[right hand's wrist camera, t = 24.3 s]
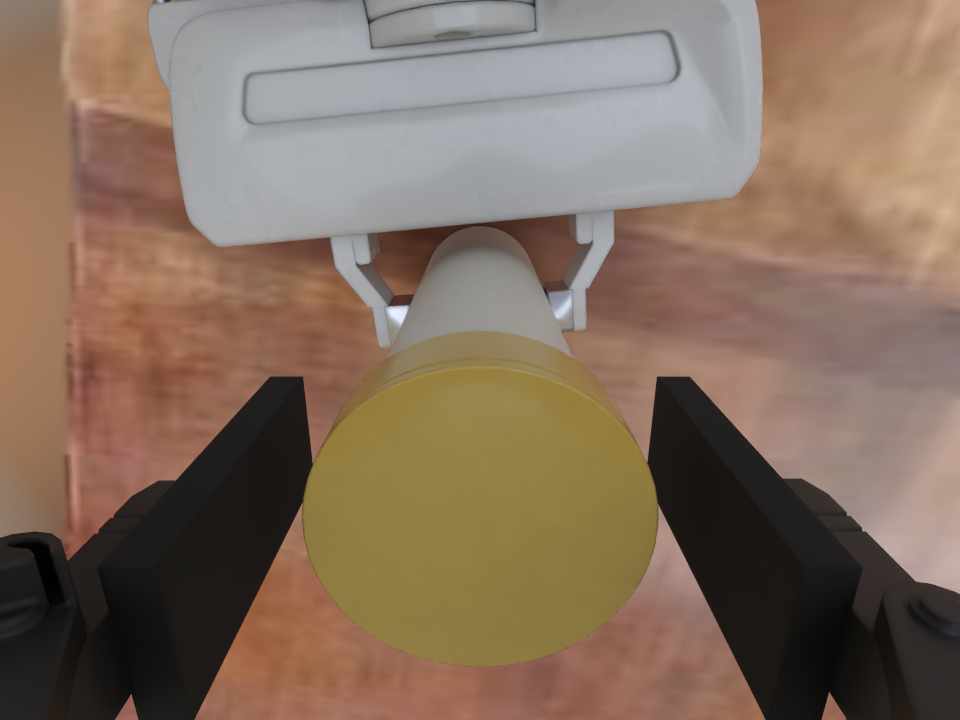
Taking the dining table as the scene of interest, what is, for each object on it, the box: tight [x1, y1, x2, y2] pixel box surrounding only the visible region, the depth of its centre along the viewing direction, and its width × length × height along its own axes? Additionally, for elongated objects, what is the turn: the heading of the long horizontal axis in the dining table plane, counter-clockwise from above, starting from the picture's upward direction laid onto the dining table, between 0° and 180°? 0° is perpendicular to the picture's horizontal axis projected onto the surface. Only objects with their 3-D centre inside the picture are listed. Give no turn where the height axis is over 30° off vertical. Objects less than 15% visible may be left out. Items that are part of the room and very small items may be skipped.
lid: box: [302, 331, 658, 667], centre depth 11 cm, size 6×6×2 cm
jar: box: [387, 226, 574, 359], centre depth 20 cm, size 5×5×20 cm
